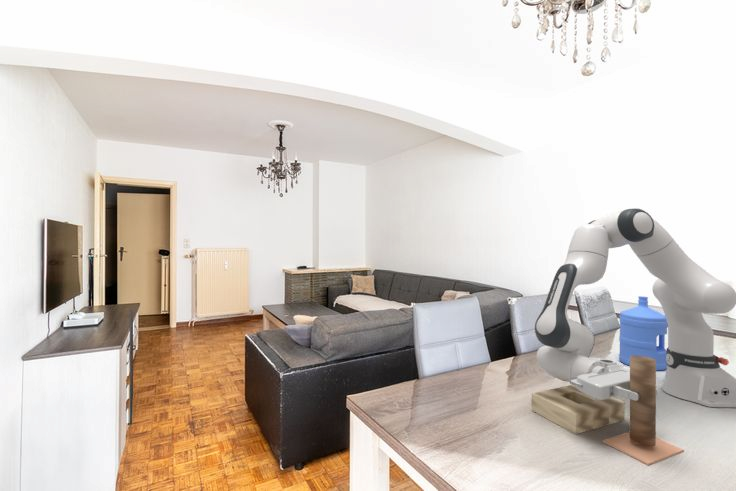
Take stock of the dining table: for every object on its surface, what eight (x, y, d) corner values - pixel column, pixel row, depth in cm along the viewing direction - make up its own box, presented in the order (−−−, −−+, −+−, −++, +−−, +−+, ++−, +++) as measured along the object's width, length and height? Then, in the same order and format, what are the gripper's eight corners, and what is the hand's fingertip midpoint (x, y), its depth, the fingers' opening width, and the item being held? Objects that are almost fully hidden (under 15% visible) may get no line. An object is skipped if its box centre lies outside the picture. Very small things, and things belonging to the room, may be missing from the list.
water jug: (625, 367, 140) (626, 298, 140) (614, 356, 155) (615, 293, 155) (674, 373, 134) (675, 301, 134) (658, 361, 149) (658, 295, 149)
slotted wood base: (577, 399, 111) (577, 383, 111) (624, 419, 98) (624, 402, 98) (531, 410, 103) (531, 393, 103) (575, 434, 91) (575, 415, 91)
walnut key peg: (648, 436, 87) (648, 356, 87) (660, 447, 82) (660, 362, 82) (625, 433, 88) (625, 354, 88) (636, 444, 83) (636, 361, 83)
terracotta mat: (637, 430, 93) (637, 429, 93) (683, 451, 83) (683, 449, 83) (602, 441, 87) (602, 440, 87) (648, 465, 78) (648, 463, 78)
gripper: (565, 368, 93) (619, 388, 80) (614, 359, 101) (671, 376, 88) (564, 392, 93) (619, 415, 80) (614, 381, 101) (671, 401, 88)
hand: (647, 395), depth 84 cm, fingers closed on walnut key peg, 5 cm apart
